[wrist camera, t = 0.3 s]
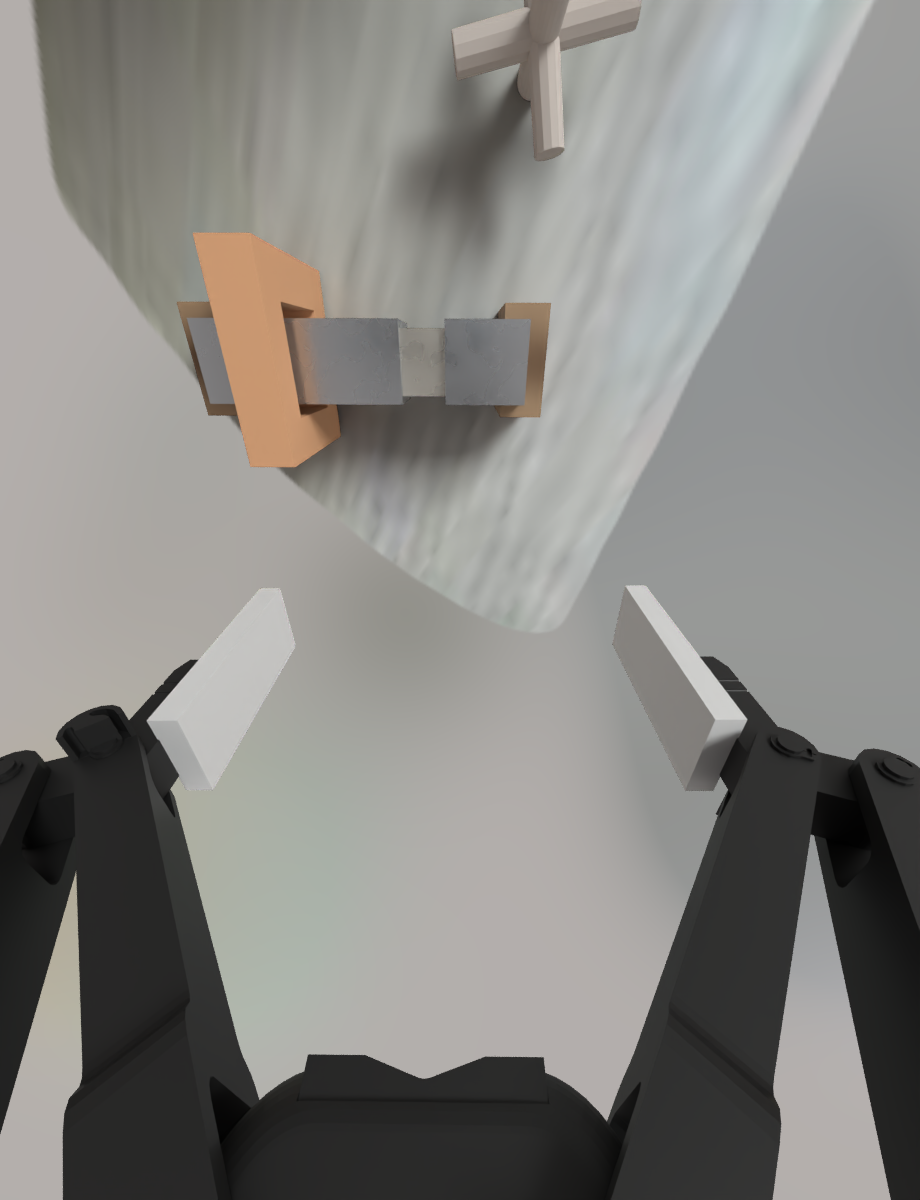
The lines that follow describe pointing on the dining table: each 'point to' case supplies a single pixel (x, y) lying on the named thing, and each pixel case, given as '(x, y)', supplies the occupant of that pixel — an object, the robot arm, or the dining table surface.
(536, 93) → the pipe connector
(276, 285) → the peach rectangular loop
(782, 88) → the dining table surface
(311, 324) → the grey long bar
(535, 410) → the stand
